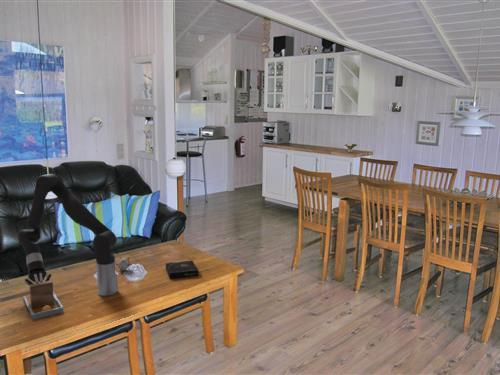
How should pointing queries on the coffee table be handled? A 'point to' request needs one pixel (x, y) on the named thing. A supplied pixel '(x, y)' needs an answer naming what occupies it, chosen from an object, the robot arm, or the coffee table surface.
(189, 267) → the portable cd player
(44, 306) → the ball
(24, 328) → the coffee table surface
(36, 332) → the coffee table surface
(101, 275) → the robot arm
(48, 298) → the board
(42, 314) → the blue-grey rectangular frame
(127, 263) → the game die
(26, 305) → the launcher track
